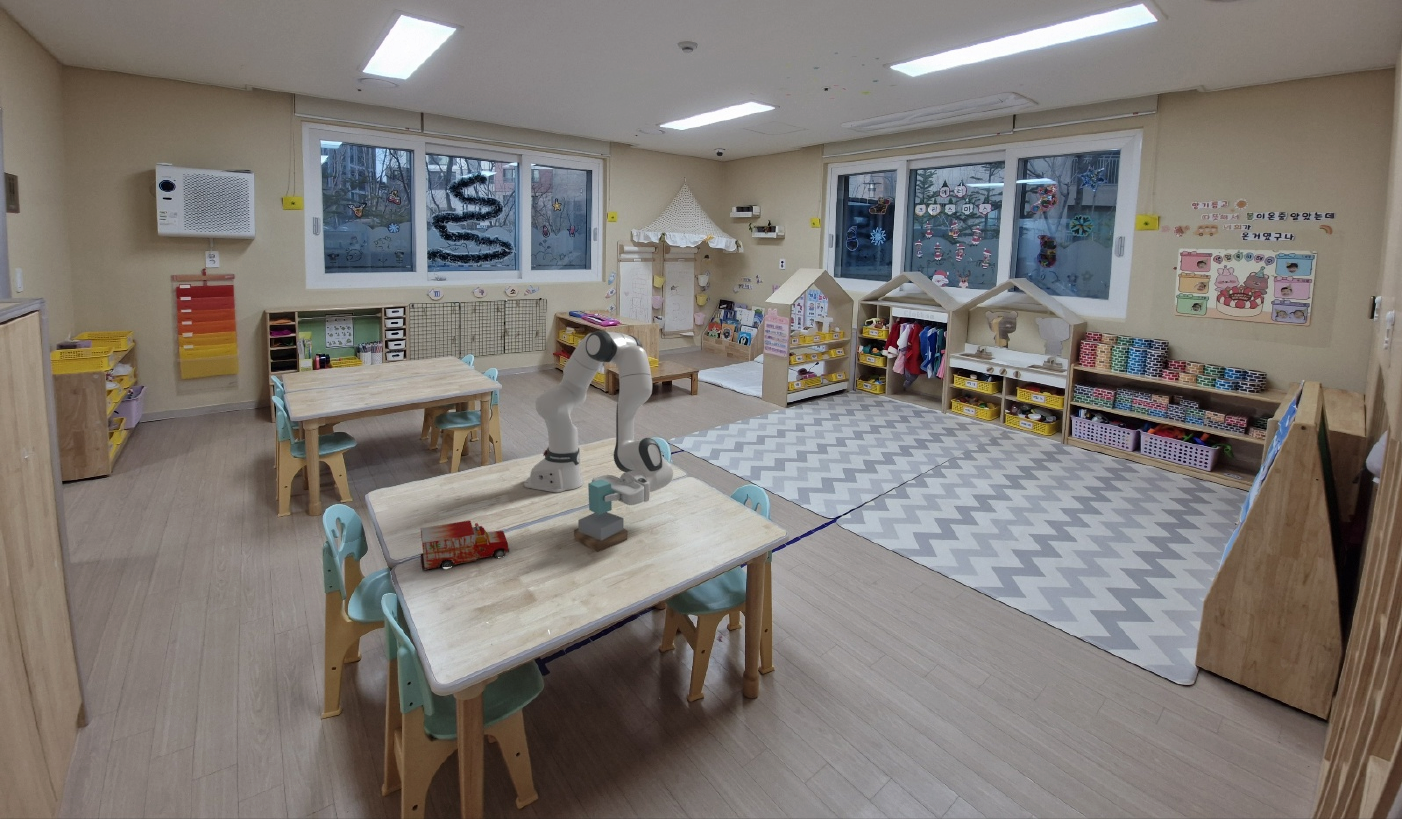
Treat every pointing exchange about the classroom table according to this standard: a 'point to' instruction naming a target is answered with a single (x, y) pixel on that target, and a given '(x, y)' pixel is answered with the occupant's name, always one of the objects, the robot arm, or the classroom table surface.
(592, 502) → the teal column
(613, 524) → the grey slab
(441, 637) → the classroom table surface
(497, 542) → the red box-shaped vehicle
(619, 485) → the robot arm
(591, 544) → the walnut slab
